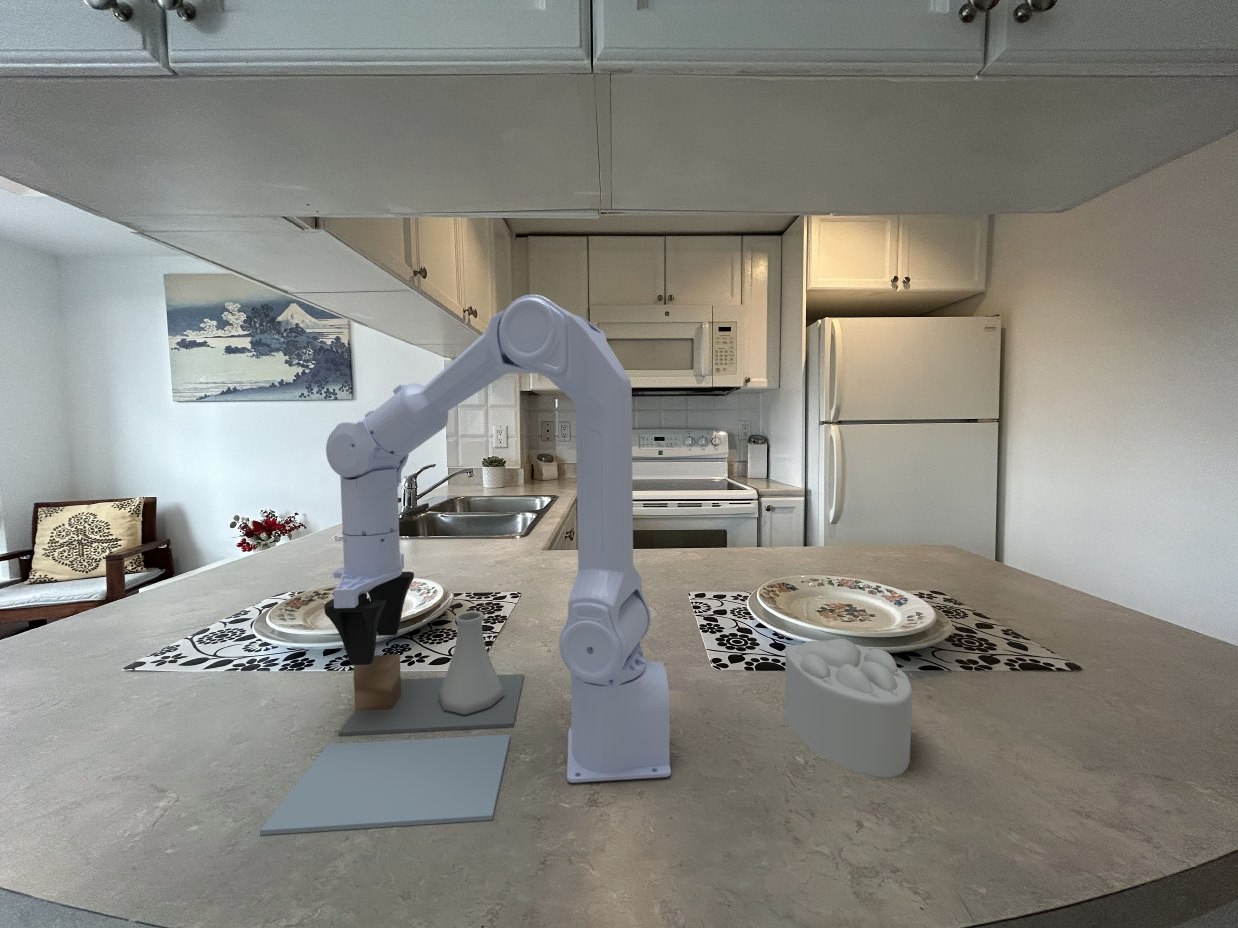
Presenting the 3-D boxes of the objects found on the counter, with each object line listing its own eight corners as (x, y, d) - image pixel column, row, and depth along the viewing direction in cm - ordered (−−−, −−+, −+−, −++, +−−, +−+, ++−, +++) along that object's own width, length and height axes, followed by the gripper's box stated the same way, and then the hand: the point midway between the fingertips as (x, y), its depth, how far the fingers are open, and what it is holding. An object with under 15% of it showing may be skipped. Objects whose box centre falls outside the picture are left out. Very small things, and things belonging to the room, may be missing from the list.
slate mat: (510, 738, 52) (510, 734, 52) (492, 819, 41) (492, 815, 41) (328, 747, 51) (328, 743, 51) (260, 834, 40) (260, 830, 40)
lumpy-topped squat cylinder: (855, 698, 60) (857, 626, 59) (941, 771, 47) (945, 681, 47) (772, 706, 58) (774, 632, 58) (839, 784, 46) (841, 691, 45)
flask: (479, 677, 64) (477, 600, 64) (515, 696, 60) (514, 613, 59) (426, 700, 59) (423, 616, 58) (462, 723, 54) (460, 632, 54)
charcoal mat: (524, 676, 65) (523, 636, 65) (513, 726, 54) (512, 678, 54) (379, 683, 64) (377, 641, 63) (338, 735, 53) (336, 685, 53)
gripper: (361, 519, 64) (365, 624, 65) (299, 546, 50) (305, 680, 51) (419, 518, 65) (422, 622, 66) (373, 544, 50) (378, 677, 51)
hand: (375, 647), depth 58 cm, fingers open, 7 cm apart
